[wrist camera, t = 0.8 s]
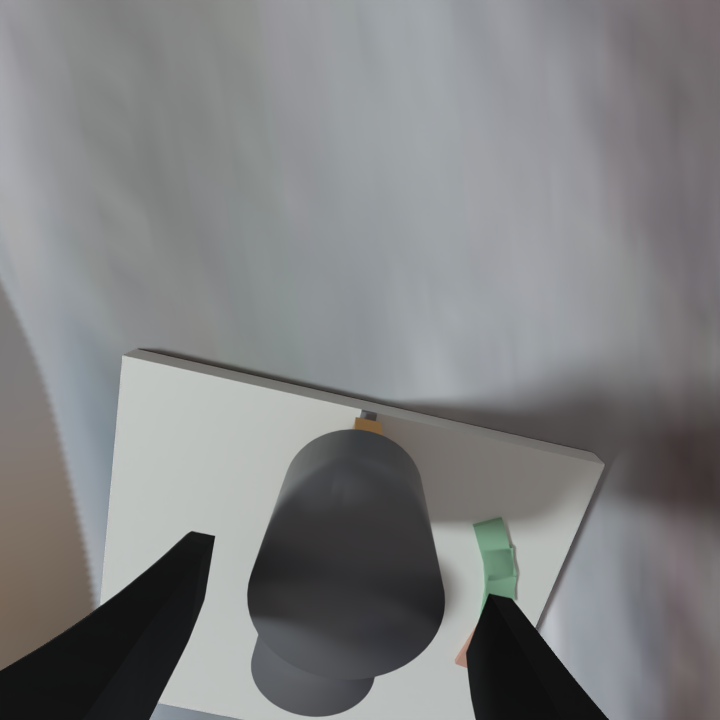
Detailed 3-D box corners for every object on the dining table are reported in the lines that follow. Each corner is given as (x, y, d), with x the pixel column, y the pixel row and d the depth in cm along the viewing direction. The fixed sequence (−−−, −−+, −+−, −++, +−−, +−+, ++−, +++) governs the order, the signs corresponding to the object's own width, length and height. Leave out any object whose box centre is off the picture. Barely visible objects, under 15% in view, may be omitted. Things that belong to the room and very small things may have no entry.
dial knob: (368, 650, 20) (366, 833, 14) (255, 627, 19) (204, 802, 13) (434, 432, 17) (470, 542, 11) (303, 402, 17) (265, 498, 11)
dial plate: (471, 742, 23) (477, 769, 22) (104, 670, 22) (89, 694, 21) (593, 452, 19) (607, 467, 17) (135, 348, 18) (119, 356, 17)
